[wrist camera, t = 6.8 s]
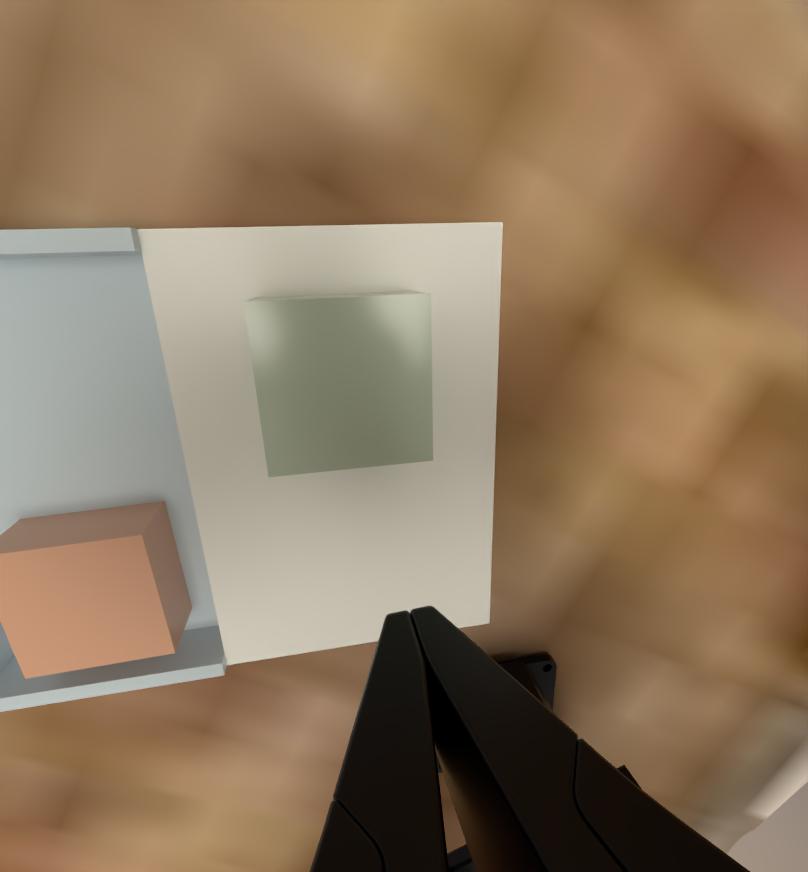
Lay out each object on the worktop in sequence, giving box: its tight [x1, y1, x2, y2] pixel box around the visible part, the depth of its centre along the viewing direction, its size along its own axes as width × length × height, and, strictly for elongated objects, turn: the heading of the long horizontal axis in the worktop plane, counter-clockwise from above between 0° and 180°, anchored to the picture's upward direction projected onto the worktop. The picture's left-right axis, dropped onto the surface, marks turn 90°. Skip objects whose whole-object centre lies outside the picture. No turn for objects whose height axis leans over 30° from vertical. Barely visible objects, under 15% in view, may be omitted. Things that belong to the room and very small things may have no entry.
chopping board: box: [137, 222, 503, 665], centre depth 18 cm, size 16×11×2 cm
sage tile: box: [243, 291, 433, 477], centre depth 14 cm, size 5×5×2 cm
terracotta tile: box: [0, 501, 192, 679], centre depth 17 cm, size 5×5×2 cm
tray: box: [0, 227, 227, 712], centre depth 16 cm, size 16×9×2 cm, turn 2°
